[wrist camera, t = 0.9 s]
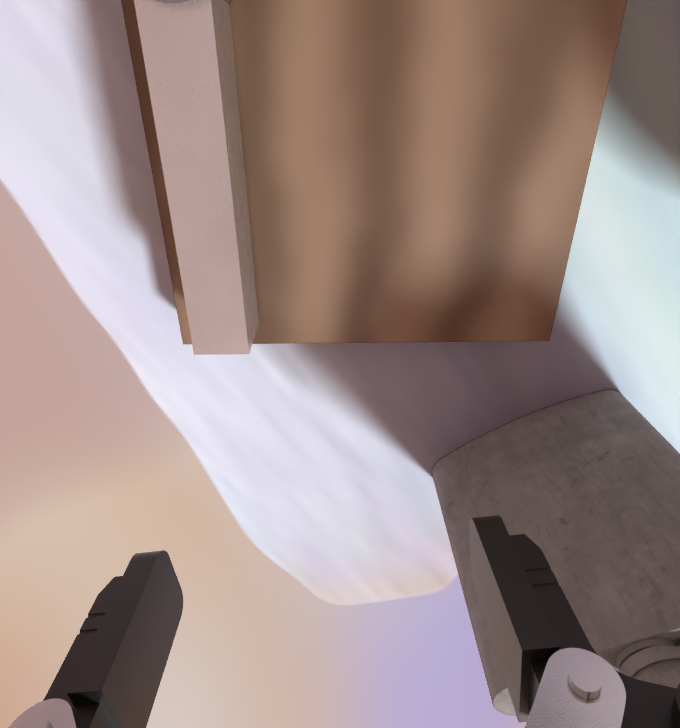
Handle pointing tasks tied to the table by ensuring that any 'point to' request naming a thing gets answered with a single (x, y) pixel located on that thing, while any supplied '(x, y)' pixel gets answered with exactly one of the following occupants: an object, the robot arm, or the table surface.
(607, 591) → the hip flask
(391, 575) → the table surface
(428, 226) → the lock board
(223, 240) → the bar
